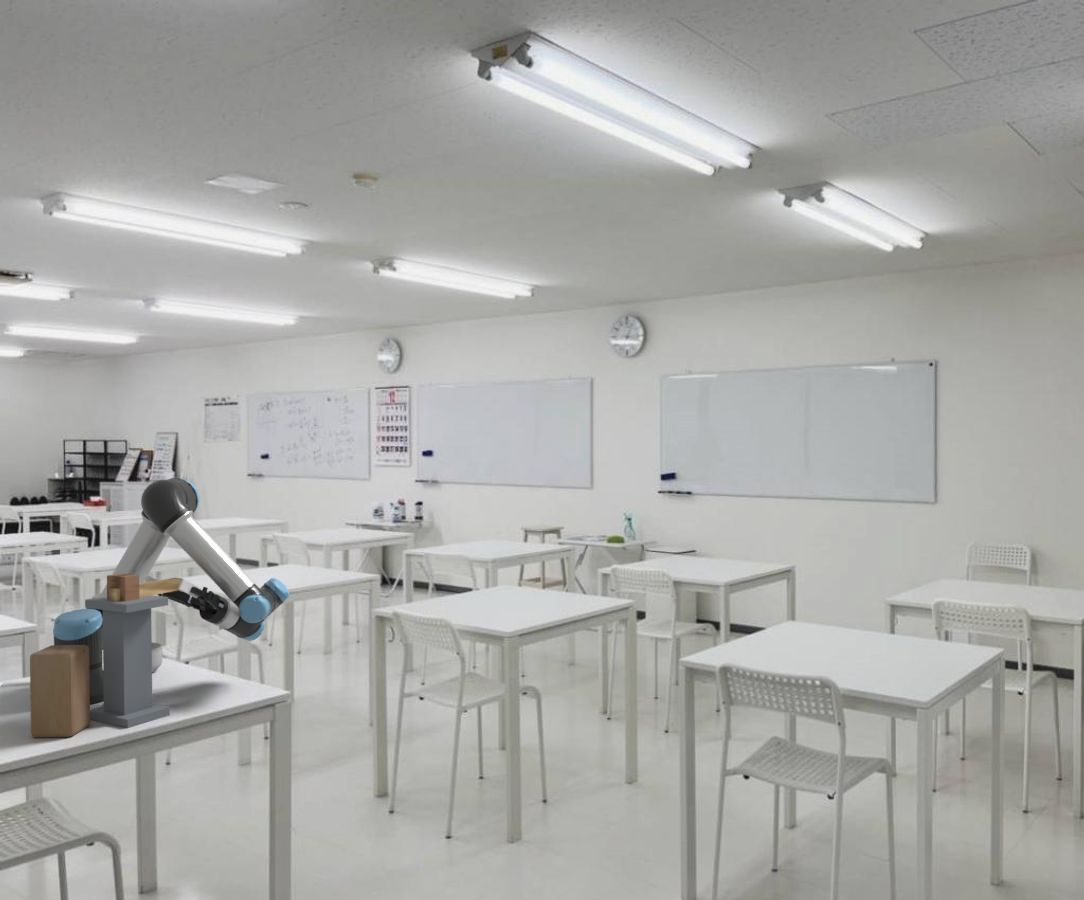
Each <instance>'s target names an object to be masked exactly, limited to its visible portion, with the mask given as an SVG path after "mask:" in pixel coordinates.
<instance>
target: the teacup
mask: <svg viewBox="0 0 1084 900" xmlns="http://www.w3.org/2000/svg"><path fill="white" fill-rule="evenodd" d="M162 663H163V644H162V643H160V642H156V641H155V642H154V641H152V673H155V672H156V671H157V670H158V669H159V668H160V667H161V666H162Z"/></svg>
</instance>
